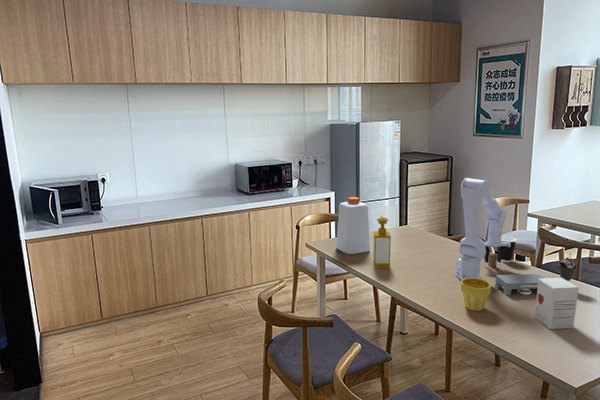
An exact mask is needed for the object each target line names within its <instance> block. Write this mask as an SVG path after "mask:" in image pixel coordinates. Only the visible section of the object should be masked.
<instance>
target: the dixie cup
mask: <svg viewBox="0 0 600 400" xmlns="http://www.w3.org/2000/svg"><path fill="white" fill-rule="evenodd" d="M517 241H518V240H517V239H516V238H514V237H509V236H502V237H501V242H509V243H511V244H510V247H506V248H507V251H506V252H505V254H504V255H503V257H502V260H501V262H503V263H511V262H512V260H513V256H514V251H515V247H516V242H517Z"/></svg>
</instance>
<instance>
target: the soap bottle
mask: <svg viewBox="0 0 600 400" xmlns="http://www.w3.org/2000/svg"><path fill="white" fill-rule="evenodd" d="M376 221H378V224H379V225H380V227H378V231H373V257H372V259H373V263H374V264H373V263H372V264H373V269H390V267H391V242H392V241H391V239H392V236H391V233H390V231H387V228H386V227H385V225H387V224H388V222H389V219H388V218H387V217H384V216H382V215H380V217H378V218H377V219H376Z"/></svg>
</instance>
